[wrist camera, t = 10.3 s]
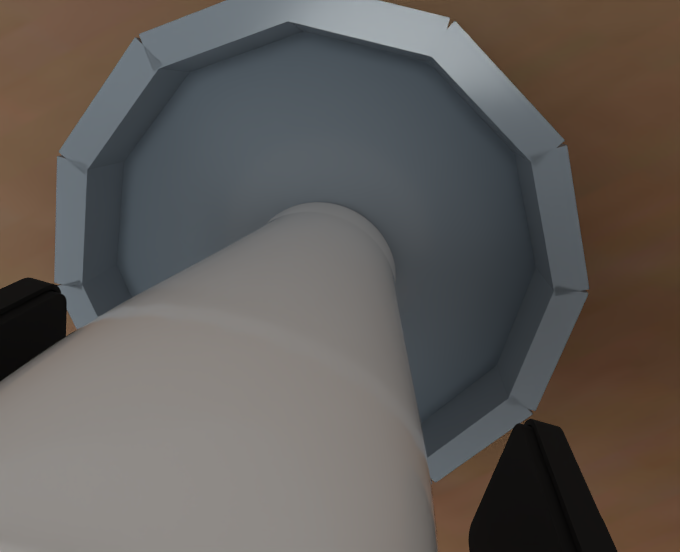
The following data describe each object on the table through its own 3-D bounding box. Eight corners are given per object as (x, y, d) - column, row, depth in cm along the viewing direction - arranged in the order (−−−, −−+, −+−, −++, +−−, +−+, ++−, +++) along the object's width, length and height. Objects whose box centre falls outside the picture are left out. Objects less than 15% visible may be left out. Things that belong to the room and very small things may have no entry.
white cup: (314, 134, 16) (-193, 340, 2) (457, 269, 17) (673, 968, 3) (198, 270, 19) (-416, 787, 5) (330, 384, 20) (148, 1091, 6)
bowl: (636, 79, 16) (687, 75, 13) (465, 486, 22) (474, 544, 19) (121, -47, 16) (62, -77, 13) (95, 385, 22) (51, 427, 19)
